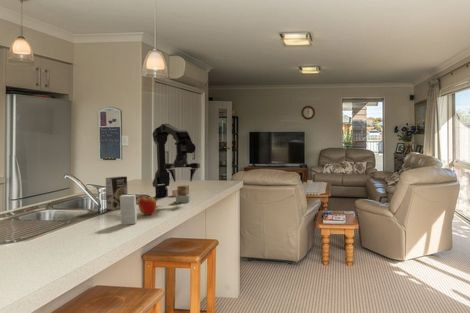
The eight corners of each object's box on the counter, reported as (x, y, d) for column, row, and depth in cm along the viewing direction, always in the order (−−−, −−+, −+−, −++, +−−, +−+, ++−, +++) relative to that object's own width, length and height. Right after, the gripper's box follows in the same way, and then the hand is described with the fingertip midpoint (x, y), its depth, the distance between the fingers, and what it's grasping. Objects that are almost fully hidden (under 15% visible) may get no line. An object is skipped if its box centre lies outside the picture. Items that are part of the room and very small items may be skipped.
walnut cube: (177, 195, 247) (177, 186, 246) (180, 194, 252) (180, 185, 251) (186, 195, 246) (186, 186, 245) (189, 194, 250) (188, 185, 250)
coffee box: (114, 210, 227) (112, 178, 226) (106, 209, 231) (104, 177, 230) (128, 207, 234) (127, 176, 234) (120, 206, 238) (119, 175, 237)
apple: (157, 212, 215) (157, 192, 215) (155, 216, 207) (154, 194, 207) (140, 213, 215) (139, 192, 215) (137, 216, 207) (136, 194, 207)
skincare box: (137, 222, 194) (136, 194, 193) (135, 224, 190) (134, 195, 189) (122, 222, 194) (121, 194, 193) (120, 224, 190) (119, 196, 189)
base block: (176, 203, 245) (175, 195, 245) (177, 201, 252) (177, 194, 252) (189, 202, 245) (188, 195, 245) (190, 200, 252) (190, 193, 252)
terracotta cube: (172, 196, 270) (172, 189, 270) (172, 195, 274) (172, 189, 274) (179, 196, 270) (178, 189, 270) (179, 195, 274) (179, 188, 274)
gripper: (160, 154, 241) (161, 183, 242) (194, 153, 238) (195, 183, 238) (167, 153, 252) (168, 181, 253) (199, 152, 249) (200, 180, 249)
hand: (182, 181), depth 248 cm, fingers open, 9 cm apart
